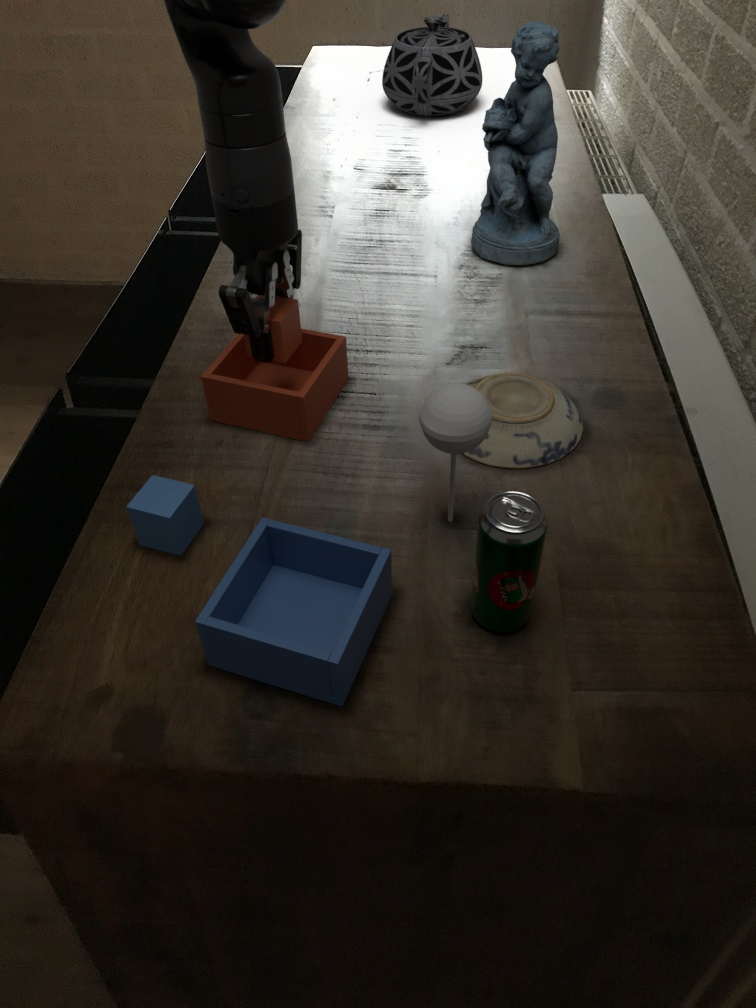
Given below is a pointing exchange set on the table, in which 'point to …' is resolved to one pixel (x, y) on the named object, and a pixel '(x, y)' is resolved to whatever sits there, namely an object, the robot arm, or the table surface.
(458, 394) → the lollipop
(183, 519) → the blue block
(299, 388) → the terracotta bin
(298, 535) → the blue bin
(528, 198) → the statue
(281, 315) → the terracotta block
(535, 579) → the soda can
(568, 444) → the decorative bowl
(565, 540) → the table surface
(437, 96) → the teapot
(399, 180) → the table surface
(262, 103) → the robot arm
